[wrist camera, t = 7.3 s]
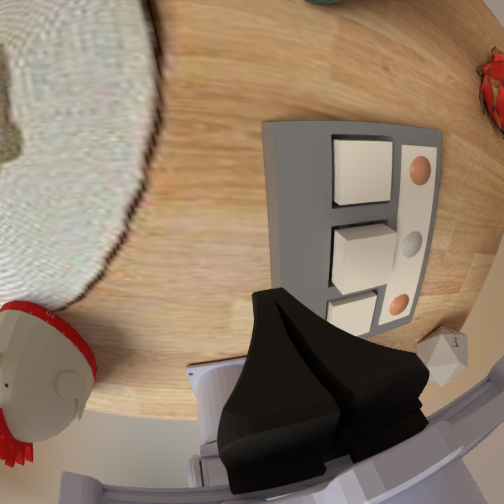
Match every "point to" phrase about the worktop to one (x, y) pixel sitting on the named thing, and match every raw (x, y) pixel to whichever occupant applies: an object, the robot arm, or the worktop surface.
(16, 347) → the kitchen timer
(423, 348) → the die
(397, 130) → the button board
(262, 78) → the worktop surface
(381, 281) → the middle button
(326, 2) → the beverage bottle
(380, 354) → the robot arm
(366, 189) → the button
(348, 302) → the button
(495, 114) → the dragon fruit
